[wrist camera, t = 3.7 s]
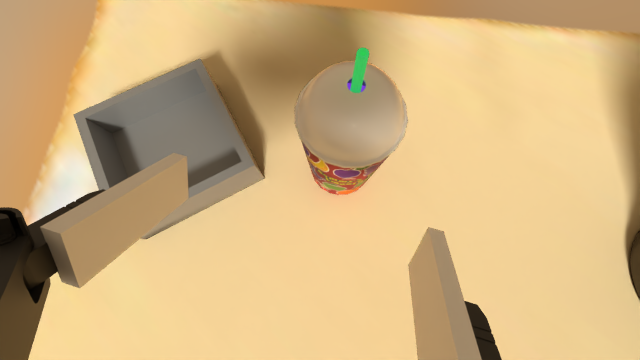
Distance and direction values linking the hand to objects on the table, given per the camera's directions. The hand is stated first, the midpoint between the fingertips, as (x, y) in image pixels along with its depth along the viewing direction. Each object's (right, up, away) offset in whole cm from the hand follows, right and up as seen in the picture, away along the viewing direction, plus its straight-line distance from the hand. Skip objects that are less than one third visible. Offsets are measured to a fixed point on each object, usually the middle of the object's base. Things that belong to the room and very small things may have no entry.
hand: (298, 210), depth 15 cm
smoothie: (+4, +3, +19) cm, 20 cm away
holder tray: (-16, +5, +20) cm, 26 cm away
